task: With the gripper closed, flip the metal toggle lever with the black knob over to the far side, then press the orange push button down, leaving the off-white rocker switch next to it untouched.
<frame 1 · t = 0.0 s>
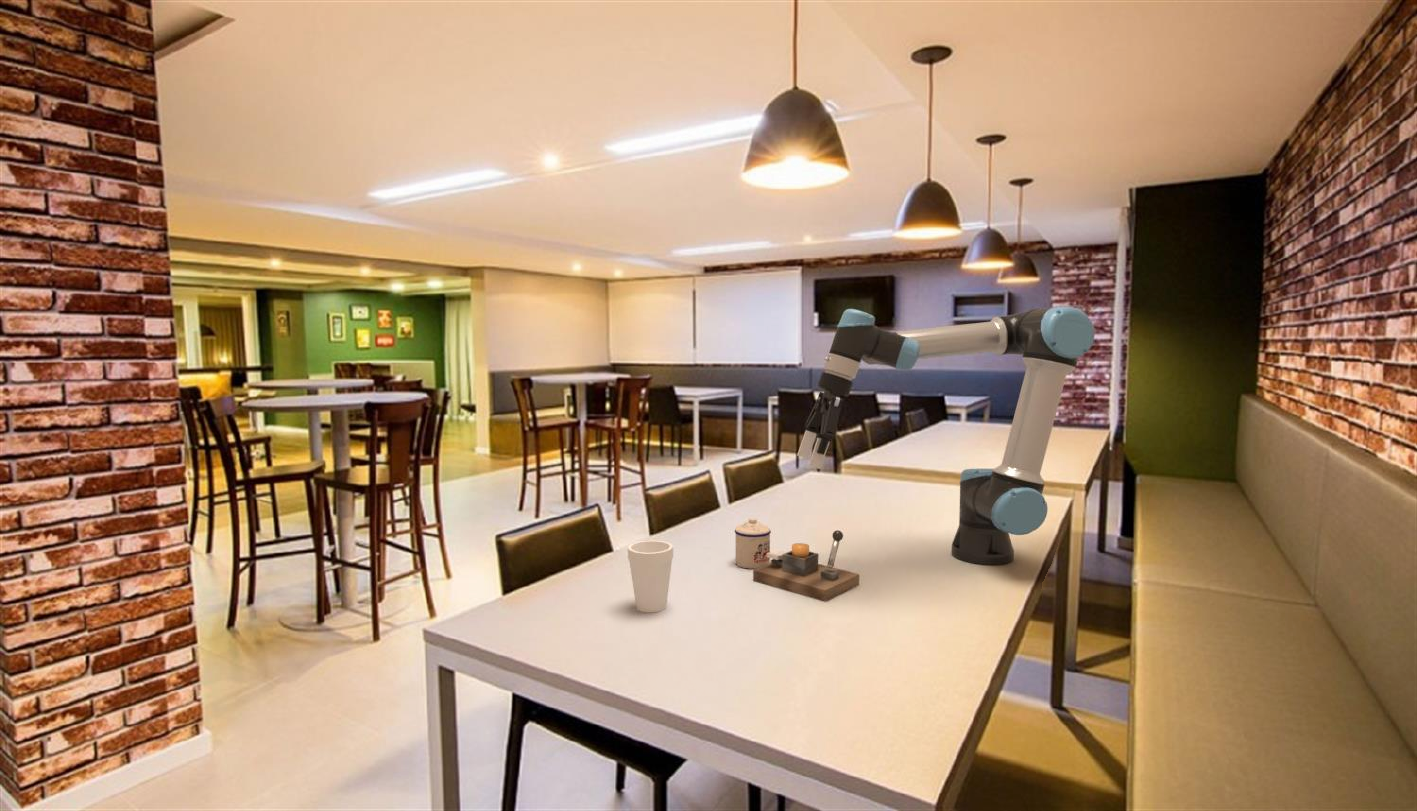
hand: (808, 462, 161), 28 cm above the table, tool tilted 20°, fingers open, 13 cm apart
teacup with lid: (755, 563, 175), on the table
rocker switch: (779, 555, 165), point 5 cm above the table, hinge at 10.0°
switch panel: (805, 582, 160), on the table
toggle lever: (836, 542, 157), point 10 cm above the table, hinge at -25.0°
push button: (800, 552, 161), point 7 cm above the table, slide at 0.0 cm
foam cup: (651, 607, 146), on the table
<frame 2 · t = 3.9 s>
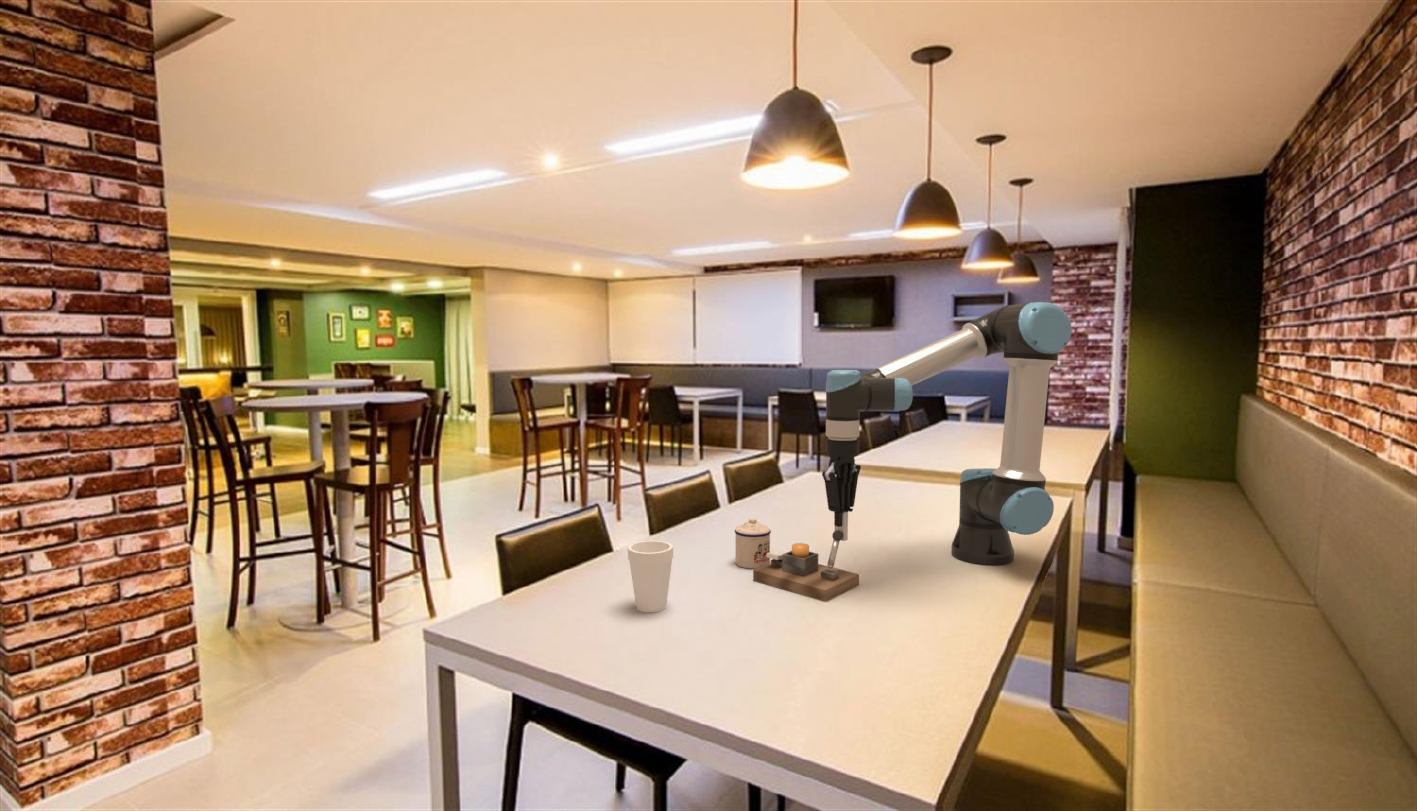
hand: (840, 539, 159), 10 cm above the table, tool pointing down, fingers closed
toggle lever: (836, 542, 157), point 10 cm above the table, hinge at -24.8°, touching gripper
everything else where it was.
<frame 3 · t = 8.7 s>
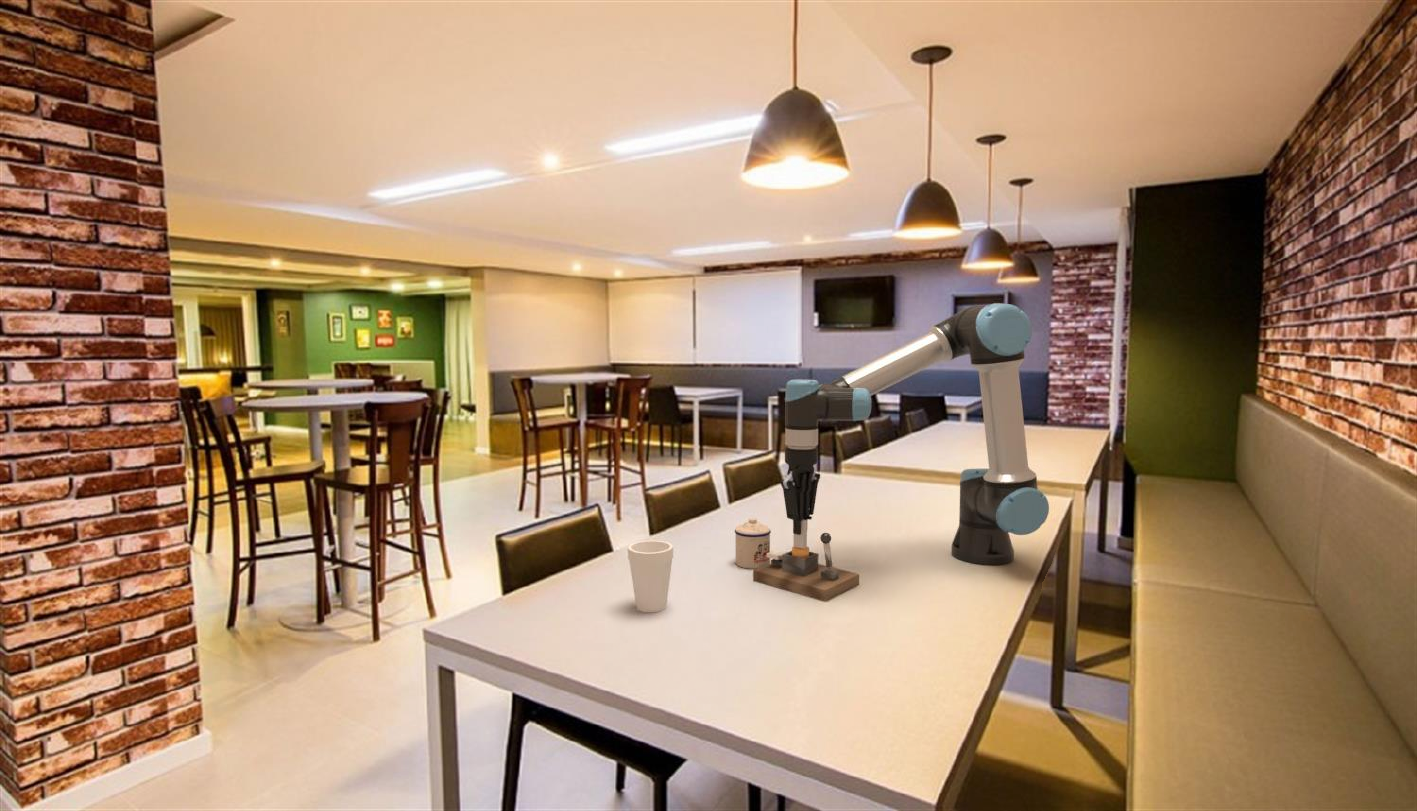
hand: (800, 546, 161), 8 cm above the table, tool pointing down, fingers closed
toggle lever: (826, 544, 154), point 11 cm above the table, hinge at 13.5°
push button: (800, 554, 161), point 6 cm above the table, slide at 0.6 cm, touching gripper
everything else where it was.
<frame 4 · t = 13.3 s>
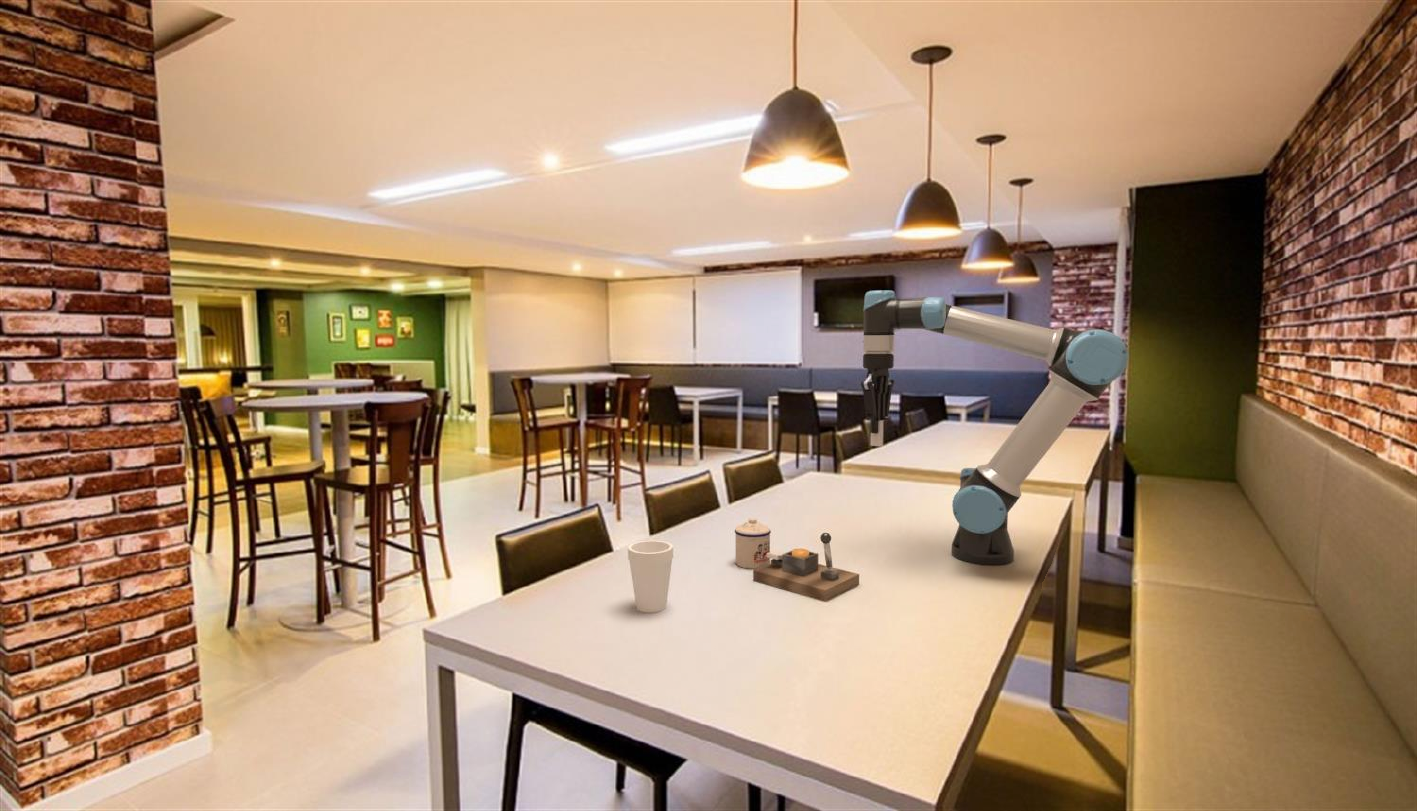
hand: (876, 445, 175), 29 cm above the table, tool pointing down, fingers closed
push button: (800, 557, 161), point 6 cm above the table, slide at 1.3 cm
everything else where it was.
at the end: toggle lever at +14° (first picture: -25°); push button slide at 1.3 cm; rocker switch at +10° (first picture: +10°) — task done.
